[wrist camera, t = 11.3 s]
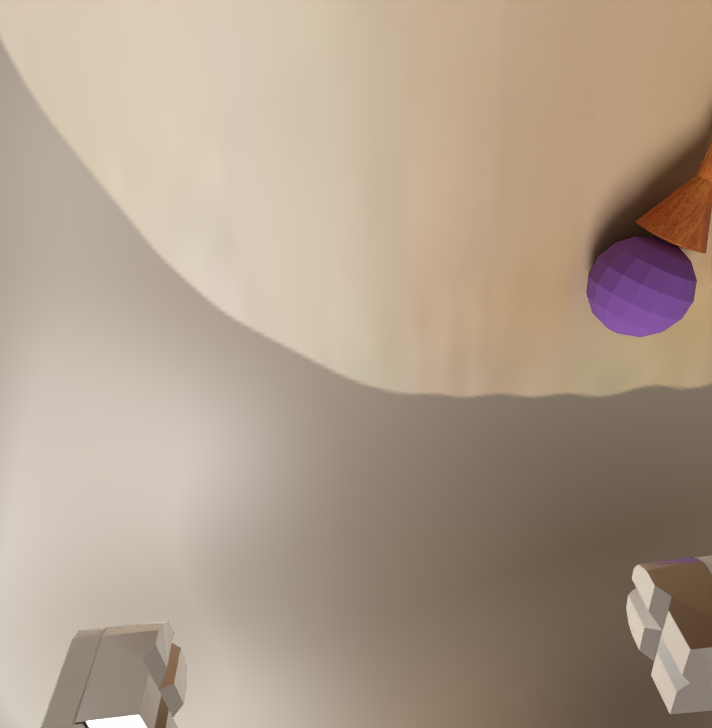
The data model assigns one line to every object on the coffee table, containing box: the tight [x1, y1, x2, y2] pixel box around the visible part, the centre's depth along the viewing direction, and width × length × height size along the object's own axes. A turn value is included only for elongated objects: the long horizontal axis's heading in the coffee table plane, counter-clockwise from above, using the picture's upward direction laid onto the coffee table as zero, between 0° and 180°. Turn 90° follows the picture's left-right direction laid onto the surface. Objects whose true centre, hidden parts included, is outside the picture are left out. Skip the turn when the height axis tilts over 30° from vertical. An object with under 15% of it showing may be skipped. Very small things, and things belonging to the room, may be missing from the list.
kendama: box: [587, 142, 712, 337], centre depth 35 cm, size 6×6×20 cm
